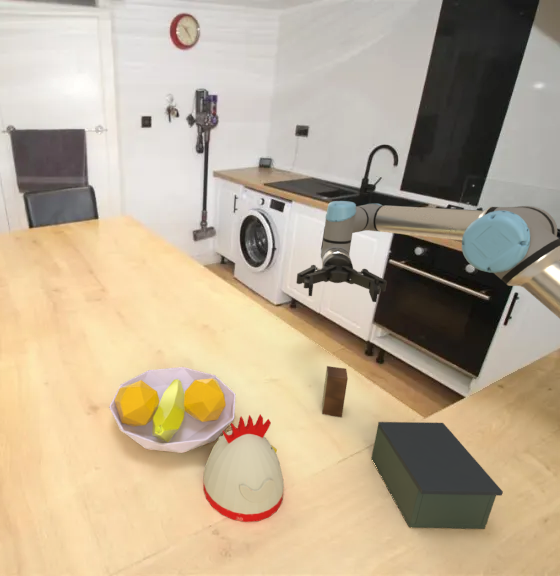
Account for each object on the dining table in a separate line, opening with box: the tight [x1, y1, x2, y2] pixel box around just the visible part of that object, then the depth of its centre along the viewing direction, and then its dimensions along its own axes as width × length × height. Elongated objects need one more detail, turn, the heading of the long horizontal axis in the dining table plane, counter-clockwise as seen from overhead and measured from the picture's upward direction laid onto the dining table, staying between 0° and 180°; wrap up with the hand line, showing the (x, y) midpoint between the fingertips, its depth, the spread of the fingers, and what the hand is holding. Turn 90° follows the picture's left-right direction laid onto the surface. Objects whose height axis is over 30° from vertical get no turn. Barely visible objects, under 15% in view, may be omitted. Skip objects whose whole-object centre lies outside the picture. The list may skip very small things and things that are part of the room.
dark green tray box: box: [371, 425, 497, 530], centre depth 70 cm, size 15×12×8 cm
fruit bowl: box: [108, 366, 236, 454], centre depth 86 cm, size 28×27×11 cm
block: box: [321, 365, 349, 418], centre depth 90 cm, size 4×4×10 cm
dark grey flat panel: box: [377, 421, 504, 496], centre depth 68 cm, size 15×12×1 cm
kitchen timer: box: [203, 414, 285, 523], centre depth 70 cm, size 14×14×15 cm
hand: (342, 293), depth 92 cm, fingers open, 13 cm apart
